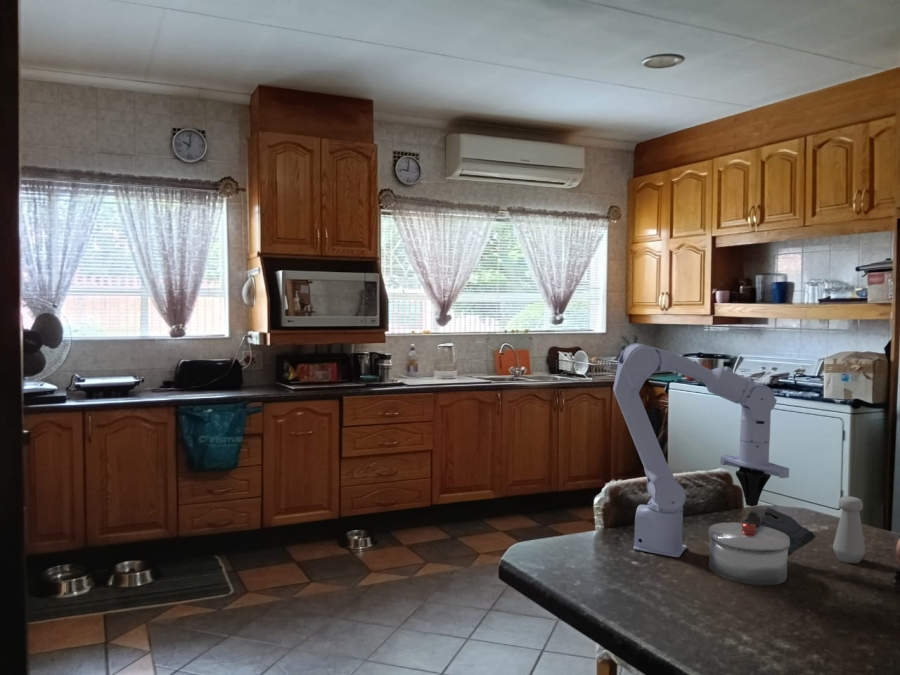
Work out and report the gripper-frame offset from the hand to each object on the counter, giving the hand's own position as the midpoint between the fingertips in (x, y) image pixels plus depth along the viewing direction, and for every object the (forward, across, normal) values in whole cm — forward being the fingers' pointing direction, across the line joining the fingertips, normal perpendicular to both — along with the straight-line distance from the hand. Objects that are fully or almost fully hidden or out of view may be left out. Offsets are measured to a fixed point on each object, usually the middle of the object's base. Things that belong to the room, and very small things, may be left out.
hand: (751, 505), depth 150 cm
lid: (+4, -5, +7) cm, 10 cm away
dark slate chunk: (+11, +5, -14) cm, 18 cm away
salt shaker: (+10, -13, -15) cm, 22 cm away
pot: (+10, -5, +7) cm, 13 cm away
